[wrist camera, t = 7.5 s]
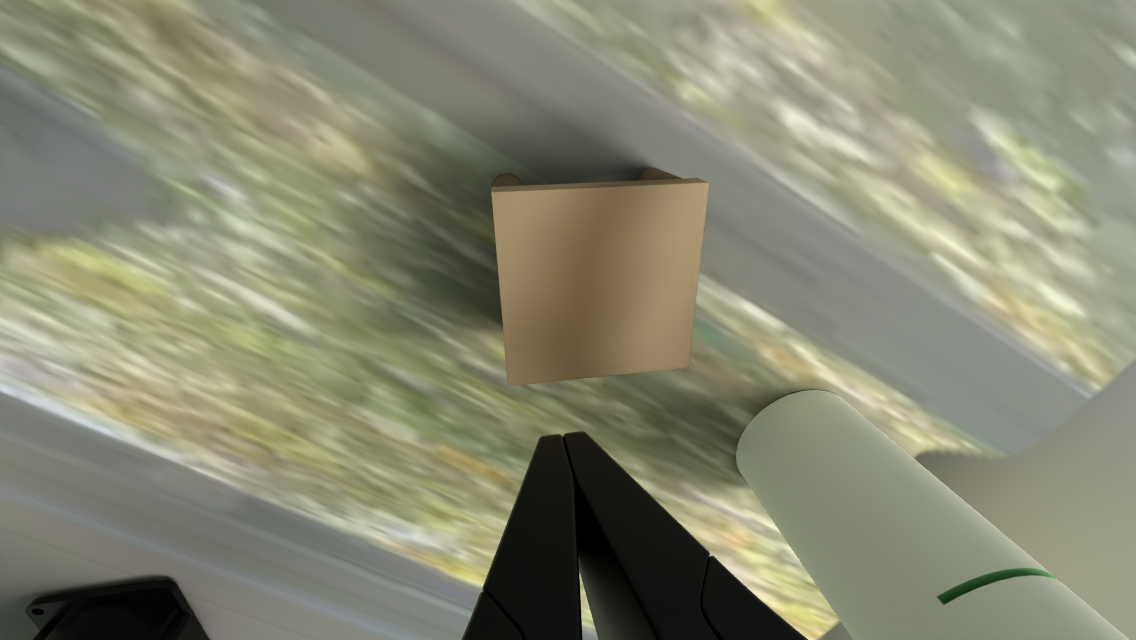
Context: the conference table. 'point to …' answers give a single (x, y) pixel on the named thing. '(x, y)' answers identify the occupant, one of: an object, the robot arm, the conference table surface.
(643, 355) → the stool
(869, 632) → the cylindrical container
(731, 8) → the conference table surface
